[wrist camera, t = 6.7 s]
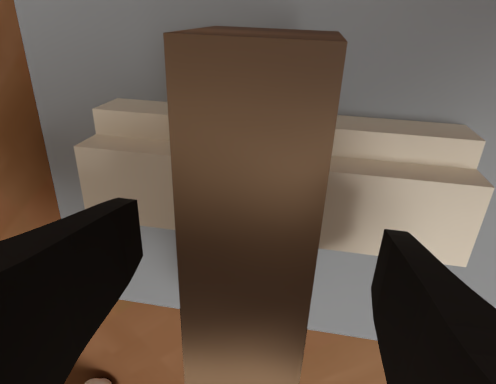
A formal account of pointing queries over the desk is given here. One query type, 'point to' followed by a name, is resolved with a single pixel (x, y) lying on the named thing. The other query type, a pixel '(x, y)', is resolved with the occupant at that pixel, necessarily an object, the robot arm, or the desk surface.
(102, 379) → the lightbulb
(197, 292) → the walnut bar
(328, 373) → the desk surface
